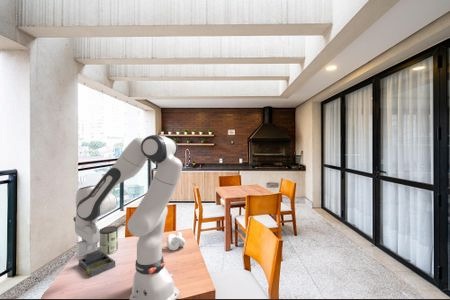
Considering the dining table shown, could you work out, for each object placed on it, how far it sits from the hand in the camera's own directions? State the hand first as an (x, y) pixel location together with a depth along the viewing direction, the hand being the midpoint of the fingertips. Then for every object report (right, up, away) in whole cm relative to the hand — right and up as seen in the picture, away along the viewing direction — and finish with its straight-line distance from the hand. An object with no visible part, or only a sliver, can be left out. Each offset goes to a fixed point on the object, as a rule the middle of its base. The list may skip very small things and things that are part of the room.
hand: (87, 247), depth 101 cm
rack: (-4, -17, +14) cm, 22 cm away
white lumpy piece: (+35, -17, +37) cm, 53 cm away
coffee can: (-7, -17, +31) cm, 36 cm away
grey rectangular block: (0, -2, 0) cm, 2 cm away
